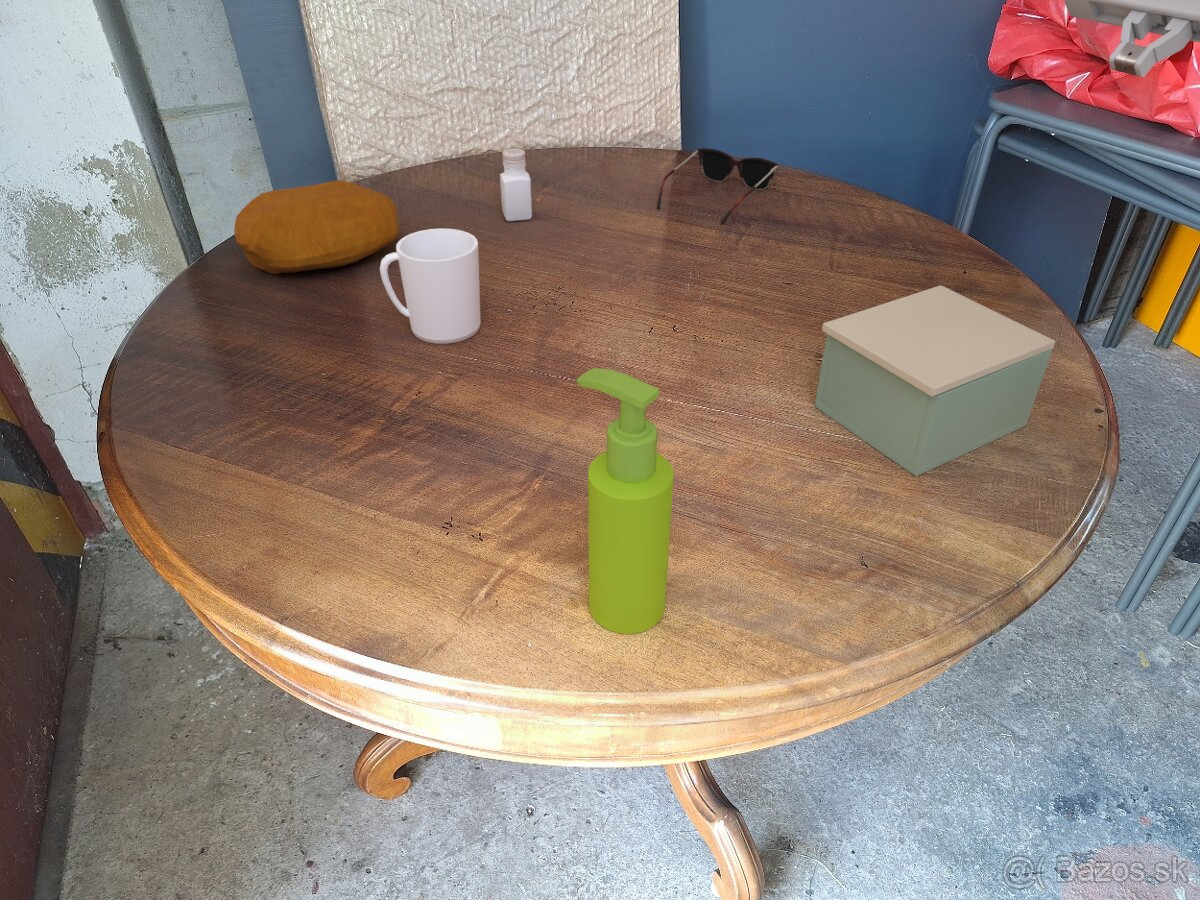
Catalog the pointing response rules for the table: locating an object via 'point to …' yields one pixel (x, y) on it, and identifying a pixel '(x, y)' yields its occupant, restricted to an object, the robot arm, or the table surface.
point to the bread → (315, 226)
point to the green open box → (924, 407)
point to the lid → (937, 339)
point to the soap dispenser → (628, 511)
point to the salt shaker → (515, 186)
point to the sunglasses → (721, 166)
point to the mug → (438, 284)
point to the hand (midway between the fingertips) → (1124, 69)
